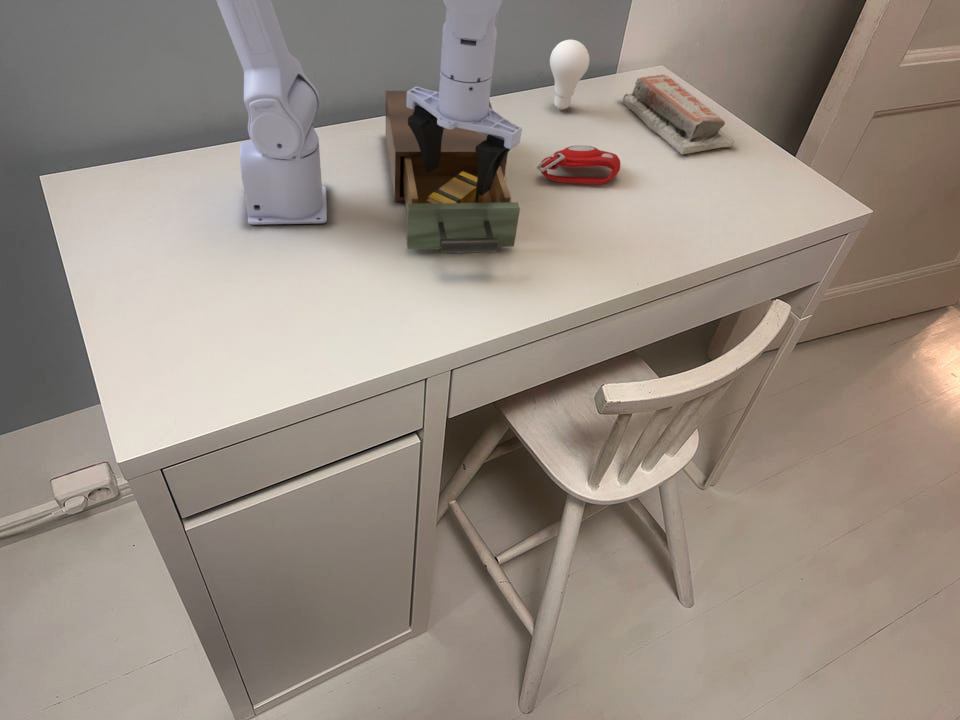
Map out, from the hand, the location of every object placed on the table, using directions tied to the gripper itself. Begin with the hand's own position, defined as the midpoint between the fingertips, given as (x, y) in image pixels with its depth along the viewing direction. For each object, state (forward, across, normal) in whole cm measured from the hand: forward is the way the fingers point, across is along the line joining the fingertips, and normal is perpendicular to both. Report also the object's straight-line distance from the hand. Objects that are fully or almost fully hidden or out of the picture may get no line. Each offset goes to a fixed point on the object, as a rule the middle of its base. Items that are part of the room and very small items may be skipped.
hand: (457, 180), depth 89 cm
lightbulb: (+7, -4, +38) cm, 39 cm away
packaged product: (+7, +12, +46) cm, 48 cm away
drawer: (+6, +1, -1) cm, 6 cm away
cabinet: (+6, -9, +10) cm, 15 cm away
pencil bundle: (+4, 0, 0) cm, 5 cm away
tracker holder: (+7, +6, +22) cm, 24 cm away
